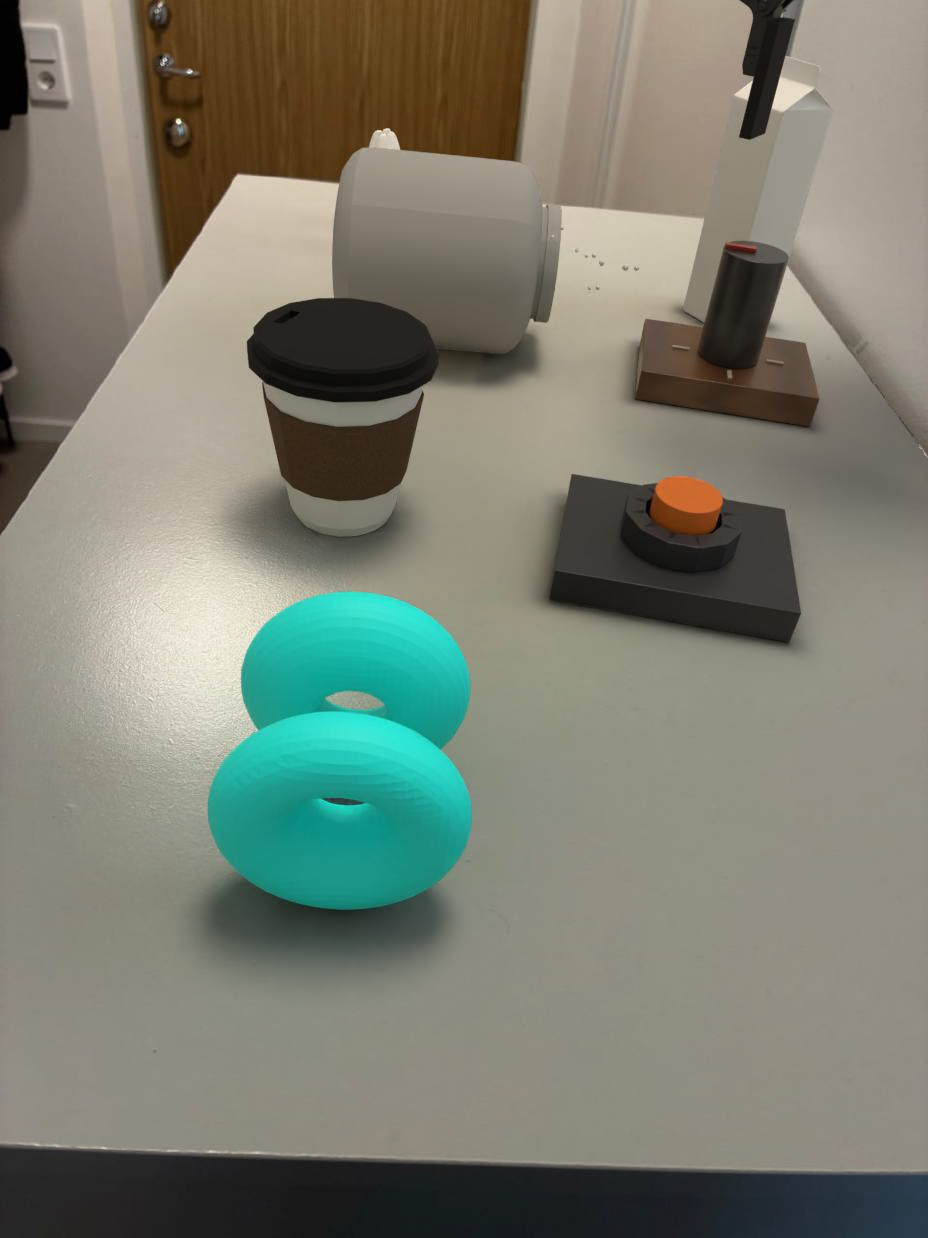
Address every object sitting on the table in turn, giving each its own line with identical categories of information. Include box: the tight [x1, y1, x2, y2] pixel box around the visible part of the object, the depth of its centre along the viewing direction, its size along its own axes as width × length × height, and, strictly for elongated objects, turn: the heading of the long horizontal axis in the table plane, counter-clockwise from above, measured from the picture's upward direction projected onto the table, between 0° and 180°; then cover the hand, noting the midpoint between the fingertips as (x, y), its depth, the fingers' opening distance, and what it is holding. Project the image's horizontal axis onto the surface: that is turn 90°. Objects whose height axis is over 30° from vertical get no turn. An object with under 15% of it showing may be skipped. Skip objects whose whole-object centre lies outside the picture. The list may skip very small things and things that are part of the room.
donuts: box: [207, 590, 473, 911], centre depth 39 cm, size 10×10×10 cm
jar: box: [331, 147, 640, 354], centre depth 78 cm, size 19×15×25 cm
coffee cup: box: [246, 297, 440, 538], centre depth 57 cm, size 11×11×12 cm
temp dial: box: [698, 241, 790, 368], centre depth 76 cm, size 5×5×9 cm
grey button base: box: [549, 473, 802, 643], centre depth 58 cm, size 14×11×4 cm
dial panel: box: [634, 318, 820, 427], centre depth 80 cm, size 14×11×3 cm
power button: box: [650, 475, 724, 536], centre depth 56 cm, size 4×4×2 cm
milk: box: [682, 55, 834, 325], centre depth 85 cm, size 6×6×22 cm
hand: (853, 160), depth 60 cm, fingers open, 13 cm apart
